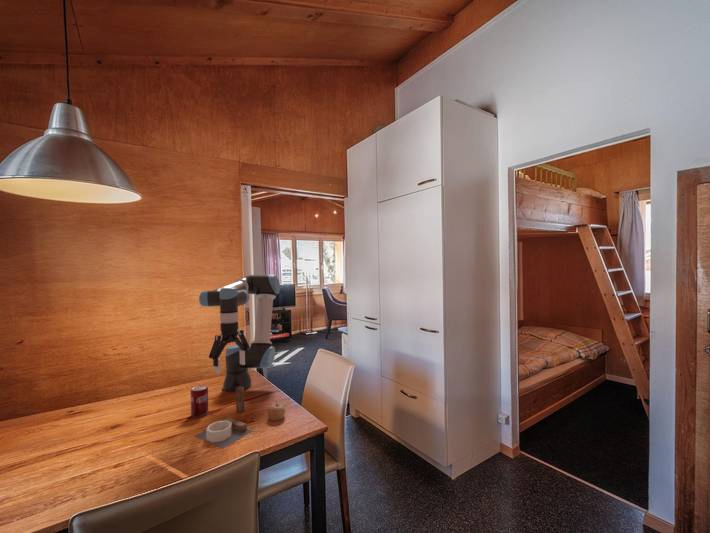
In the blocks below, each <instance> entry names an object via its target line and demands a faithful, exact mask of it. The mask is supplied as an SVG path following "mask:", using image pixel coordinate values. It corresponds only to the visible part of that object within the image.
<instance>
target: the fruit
mask: <svg viewBox="0 0 710 533" xmlns="http://www.w3.org/2000/svg"><path fill="white" fill-rule="evenodd" d="M285 414H286V408H285V406H284V405H283V404H282V403H279V402H278V401H277V400H276V401H275V403H273V404H271V405H270V406H269V407H268V410H267V416H268V419H269V420H270V421H272V422H278V421H281V420H282V419H283V418H284V417H285Z"/></svg>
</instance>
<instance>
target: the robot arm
mask: <svg viewBox="0 0 710 533" xmlns="http://www.w3.org/2000/svg"><path fill="white" fill-rule="evenodd" d="M280 292H281V285H280V279H279V277H278V276H277V275H276V274H251V275H247V276H244V277H243V276H242V277H241V278H237V279H235V280H234V281H233V282H232V283H230V284H227V285H224V286H221V287H219V288H216V289H213V290H203V291H201V293H199V297H198V301H199V304H200V306H201V307H219V308H220V309H219V310H220V311H219V321H220V324H219V325H220V326H219V328H220V332H221V334H219V335H218V334H215V335H214V341H213V344H212V346H211V349H210V352H209V355H208V359H212V361H213V364H212V366H213V367H214V374H217V375H220V374H222V373H221V372H222V371H221V358H220V357H221V354H222V352H223V351H224V349H225V347H226V346H228V344H232V343H235V344H233V345H230V346H228V347H227V348H226V349H225V355H224V357H225V376H224V381H223V384H222V389H223V391H227V392H236V388H237V387H240V386H241V387H244V390H246V389H248V388H250V387H251V386H252V378H251V375H250V374H249V369H266V368H271V366H272V364H273V363H274V360H275V355H276V348H275V347H274V346H273V343H272V341H271V331H272V330H271V329H272V317H273V306H274V300H275V299H276V298H277V295H279V294H280ZM250 295H255V297H256V298H257V307H256V308H257V310H256V317H255V318H256V319H255V320H256V321H255V326H254V327H255V329H254V339H253V341H252V342H251V343H250V344H249V343H248V340H247V338H246V336H245V332H244V329H239V309H238V308H239V307H240V306H244V305H246V304H247V303H248V302H249V300H250Z"/></svg>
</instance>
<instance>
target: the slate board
mask: <svg viewBox="0 0 710 533" xmlns="http://www.w3.org/2000/svg"><path fill="white" fill-rule="evenodd" d="M252 432H254V430H252V429H249V428H247V430H246V431H244V432H242V433H241V432H238V431H236V430H233V429H232V434H231V437H229V438H227V439H225V440H223V441H219V442H210V441H208V440H206V429H204V430H203V431H201V432H199V433H197V434H195V435H194V437H195V438H197V439H200V440H201V441H204V442H207V443H209V444H211V445H213V446H216V447H219V448H220V449H225V448H226V447H228V446H230V445H232V444H234V443H235V442H237V441H239V440H240V439H242V438H244V437H246V436H247V435H249V434H251V433H252Z"/></svg>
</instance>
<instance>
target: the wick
mask: <svg viewBox="0 0 710 533" xmlns="http://www.w3.org/2000/svg"><path fill="white" fill-rule="evenodd" d="M224 420H227V421H230V422H232V429H233V430H236V431H238V432H241V433H242V432H244V431H246V430H247V429H248V424H247V423H245V422H242V421H241V420H237V419H234V418H231V417H228V416H227V417H225V418H223V419H222V421H224Z"/></svg>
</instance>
